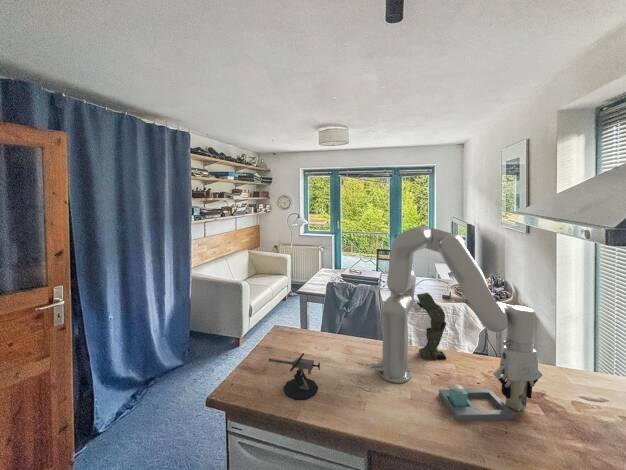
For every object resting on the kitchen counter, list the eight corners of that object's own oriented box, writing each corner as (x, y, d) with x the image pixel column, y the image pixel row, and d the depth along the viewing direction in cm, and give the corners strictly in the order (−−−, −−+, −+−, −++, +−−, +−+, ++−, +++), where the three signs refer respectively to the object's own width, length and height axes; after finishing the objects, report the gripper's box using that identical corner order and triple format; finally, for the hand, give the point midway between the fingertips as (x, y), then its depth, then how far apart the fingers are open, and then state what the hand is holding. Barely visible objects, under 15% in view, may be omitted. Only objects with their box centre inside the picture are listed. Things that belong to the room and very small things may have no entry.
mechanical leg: (450, 351, 137) (436, 288, 135) (456, 359, 130) (441, 292, 128) (419, 356, 139) (405, 294, 137) (423, 365, 132) (408, 299, 130)
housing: (456, 421, 94) (457, 414, 94) (439, 394, 107) (439, 389, 107) (514, 419, 95) (514, 413, 94) (489, 394, 107) (489, 388, 107)
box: (519, 412, 98) (521, 374, 97) (504, 405, 102) (506, 368, 100) (526, 406, 101) (529, 370, 99) (512, 399, 104) (514, 364, 103)
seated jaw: (454, 411, 99) (455, 391, 98) (449, 403, 103) (449, 383, 102) (466, 411, 99) (467, 390, 98) (460, 403, 103) (461, 383, 102)
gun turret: (275, 374, 121) (274, 343, 120) (323, 382, 115) (323, 350, 114) (260, 393, 109) (259, 359, 107) (314, 403, 103) (313, 367, 102)
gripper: (500, 350, 95) (497, 403, 97) (554, 349, 95) (550, 402, 97) (486, 339, 103) (484, 389, 104) (537, 339, 103) (533, 388, 105)
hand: (516, 395), depth 101 cm, fingers closed on box, 6 cm apart
